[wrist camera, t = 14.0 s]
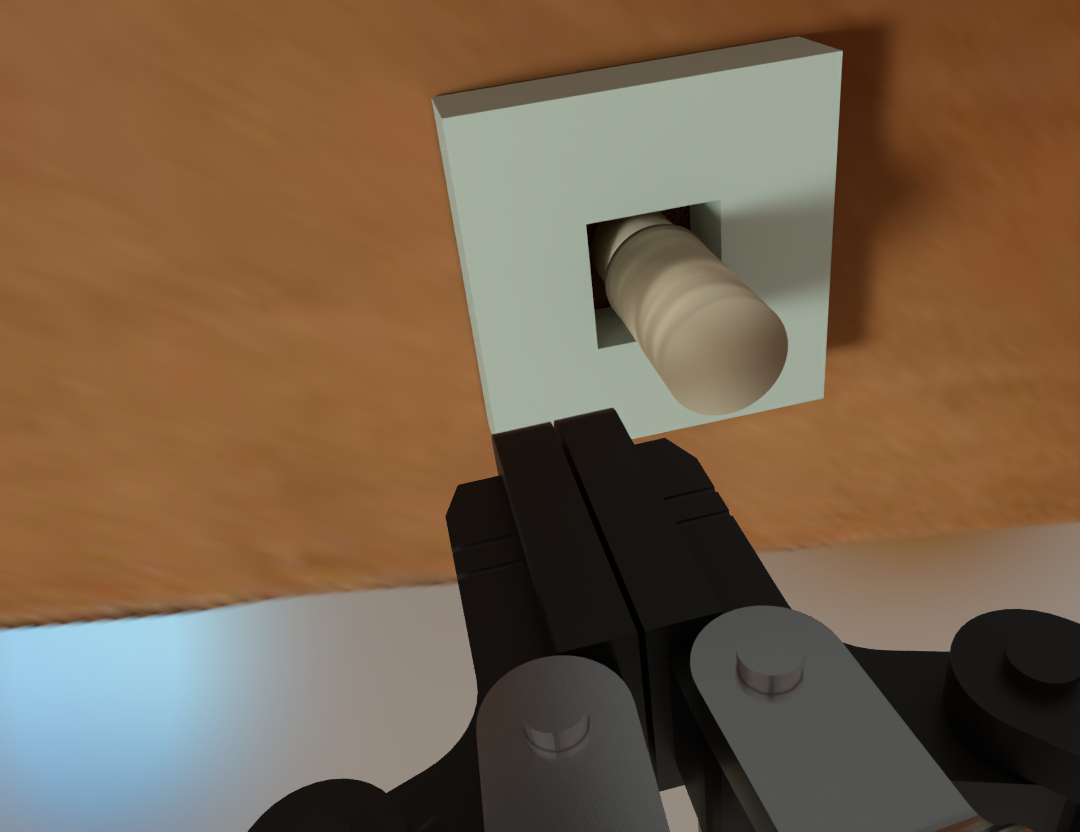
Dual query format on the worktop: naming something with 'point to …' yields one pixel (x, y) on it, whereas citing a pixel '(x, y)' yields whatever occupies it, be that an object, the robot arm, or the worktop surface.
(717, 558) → the robot arm
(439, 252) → the worktop surface
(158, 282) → the worktop surface
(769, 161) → the board
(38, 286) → the worktop surface
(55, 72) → the worktop surface
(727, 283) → the peg
